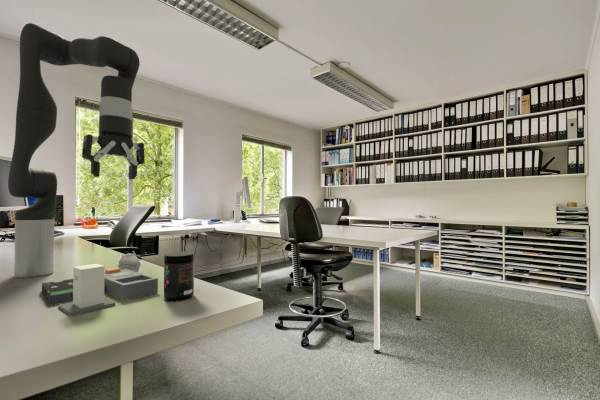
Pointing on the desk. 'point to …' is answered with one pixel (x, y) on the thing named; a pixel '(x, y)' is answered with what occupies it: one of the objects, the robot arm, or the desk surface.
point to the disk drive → (58, 291)
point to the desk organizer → (128, 283)
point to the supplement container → (178, 276)
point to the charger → (88, 285)
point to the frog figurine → (129, 262)
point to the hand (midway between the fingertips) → (114, 178)
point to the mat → (75, 310)
